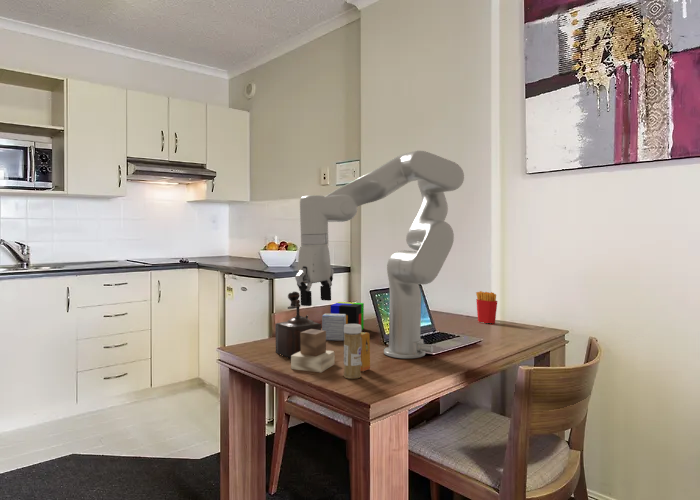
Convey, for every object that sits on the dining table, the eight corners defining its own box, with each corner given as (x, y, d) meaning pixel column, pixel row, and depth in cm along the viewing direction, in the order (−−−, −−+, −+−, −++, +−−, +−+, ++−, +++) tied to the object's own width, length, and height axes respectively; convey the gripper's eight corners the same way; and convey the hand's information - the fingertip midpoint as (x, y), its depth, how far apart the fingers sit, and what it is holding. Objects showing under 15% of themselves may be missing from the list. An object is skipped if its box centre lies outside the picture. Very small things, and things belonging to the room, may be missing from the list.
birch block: (334, 365, 138) (334, 351, 137) (321, 373, 129) (321, 358, 129) (305, 362, 141) (305, 348, 141) (291, 370, 132) (291, 355, 132)
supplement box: (360, 367, 134) (360, 331, 134) (370, 369, 132) (370, 332, 132) (352, 369, 132) (353, 332, 131) (362, 372, 130) (363, 334, 129)
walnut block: (326, 352, 136) (325, 330, 135) (315, 356, 131) (315, 334, 131) (311, 349, 138) (311, 328, 138) (300, 354, 134) (300, 332, 134)
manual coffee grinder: (323, 354, 149) (324, 295, 148) (293, 360, 142) (293, 298, 141) (295, 344, 161) (295, 290, 160) (266, 349, 153) (266, 292, 153)
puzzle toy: (330, 332, 182) (330, 305, 181) (338, 327, 191) (339, 301, 191) (356, 334, 179) (356, 306, 178) (363, 328, 188) (363, 303, 188)
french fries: (498, 323, 201) (499, 292, 200) (492, 325, 198) (493, 293, 198) (479, 320, 208) (479, 290, 207) (473, 321, 205) (473, 291, 204)
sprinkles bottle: (359, 379, 123) (360, 326, 122) (341, 378, 124) (342, 326, 123) (362, 374, 127) (362, 323, 127) (344, 373, 128) (345, 322, 128)
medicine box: (346, 338, 171) (346, 313, 171) (344, 341, 167) (344, 315, 166) (323, 337, 172) (323, 313, 172) (321, 340, 167) (321, 315, 167)
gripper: (320, 239, 143) (322, 297, 144) (284, 242, 128) (286, 307, 129) (342, 239, 139) (344, 299, 140) (307, 242, 124) (309, 308, 125)
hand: (316, 302), depth 135 cm, fingers open, 9 cm apart
